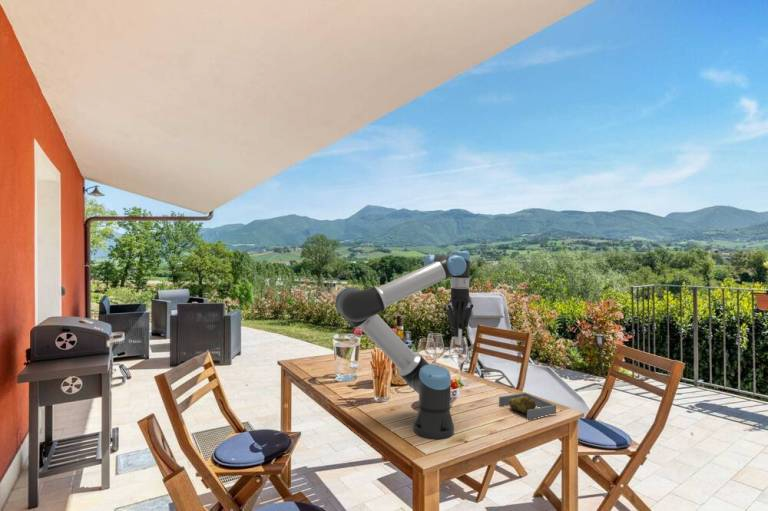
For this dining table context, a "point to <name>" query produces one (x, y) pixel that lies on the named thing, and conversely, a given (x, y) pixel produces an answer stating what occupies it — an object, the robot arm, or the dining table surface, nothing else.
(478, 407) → the dining table surface
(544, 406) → the box
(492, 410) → the dining table surface
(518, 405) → the potato
